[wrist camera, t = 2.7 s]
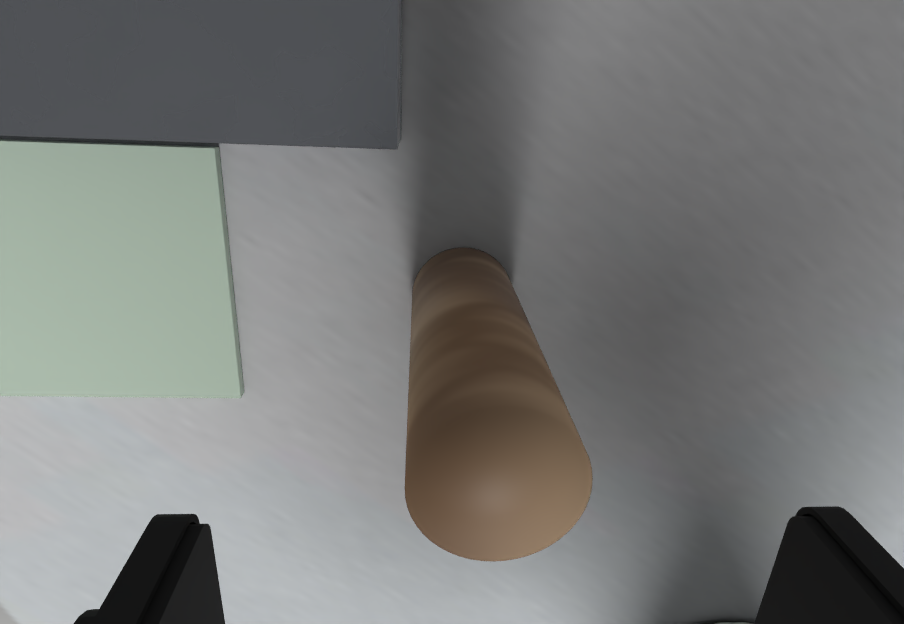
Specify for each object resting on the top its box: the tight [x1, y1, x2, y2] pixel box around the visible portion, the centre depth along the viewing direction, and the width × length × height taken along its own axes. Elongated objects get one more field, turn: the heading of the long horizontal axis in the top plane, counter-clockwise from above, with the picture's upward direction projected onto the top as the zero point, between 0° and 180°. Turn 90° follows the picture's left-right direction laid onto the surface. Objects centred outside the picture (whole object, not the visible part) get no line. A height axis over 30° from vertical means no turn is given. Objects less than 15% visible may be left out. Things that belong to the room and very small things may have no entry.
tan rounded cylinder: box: [405, 248, 592, 561], centre depth 18 cm, size 4×4×12 cm
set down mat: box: [0, 139, 244, 398], centre depth 22 cm, size 11×10×1 cm
